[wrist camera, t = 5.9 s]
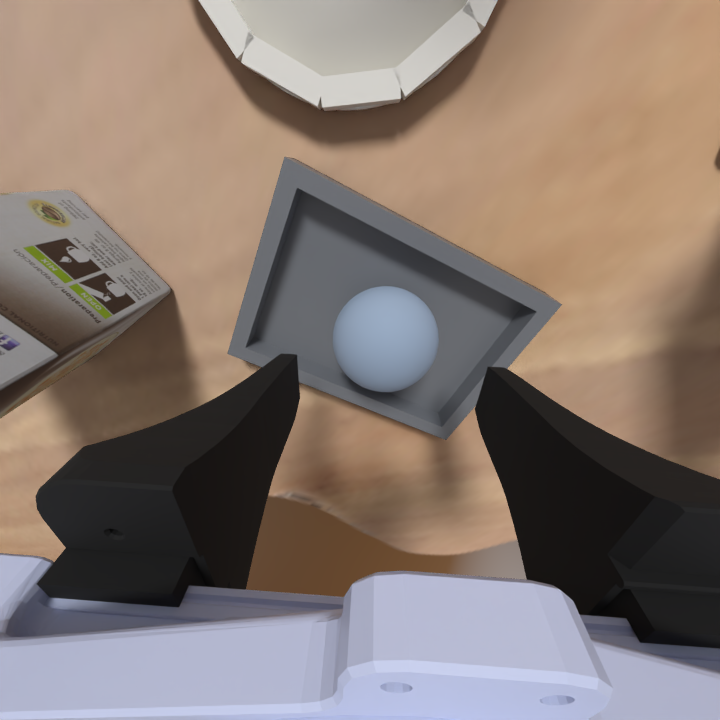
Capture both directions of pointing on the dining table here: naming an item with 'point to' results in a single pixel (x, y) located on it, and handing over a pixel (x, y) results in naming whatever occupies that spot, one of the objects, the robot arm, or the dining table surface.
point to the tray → (374, 269)
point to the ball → (385, 339)
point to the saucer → (348, 44)
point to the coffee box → (62, 290)
